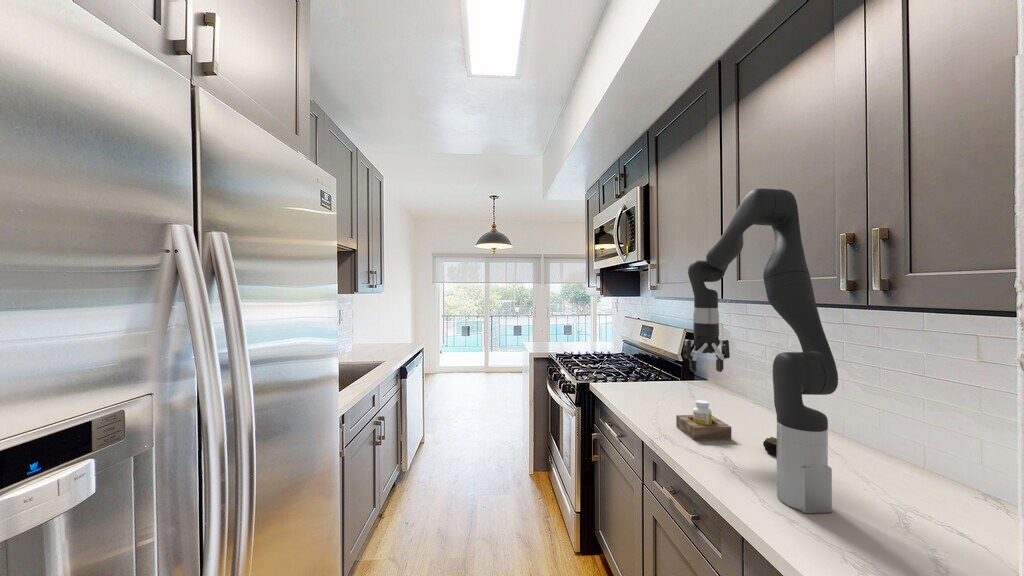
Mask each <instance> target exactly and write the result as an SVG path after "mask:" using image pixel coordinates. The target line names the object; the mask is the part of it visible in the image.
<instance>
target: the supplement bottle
mask: <svg viewBox="0 0 1024 576" xmlns="http://www.w3.org/2000/svg"><path fill="white" fill-rule="evenodd" d="M694 405H695V407H694V408H692V409H693V410H692V411H693V412H692V415H693V422H694V423H696V424H697V425H707V424H712V416H713V415H712V410H711V408H709V407H710V402H709V401H708V400H703V399H700V400H699V399H698V400H695V403H694ZM711 415H712V416H711Z"/></svg>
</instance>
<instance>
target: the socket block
mask: <svg viewBox="0 0 1024 576" xmlns="http://www.w3.org/2000/svg"><path fill="white" fill-rule="evenodd" d="M711 416H712V424H707V425H697V424H696V423H694V422H693V414H684V415H683V414H678V415H676V417H675V418H676V419H675V420H676V421H675V423H676V426H675V427H676V428H677V429H678V430H680V431H681V432H682V433H684V434H685V435H686V436H688V437H689V438H690V439H692V440H693V441H724V440H725V441H727V440H730V441H731V440H732V426H731V425H729V424H727V423H726V422H724V421H723V420H721V419H719V418H717V417H716V416H714V415H713V414H711Z"/></svg>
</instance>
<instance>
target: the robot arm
mask: <svg viewBox="0 0 1024 576" xmlns="http://www.w3.org/2000/svg"><path fill="white" fill-rule="evenodd" d="M754 225H756V226H766V227H767V226H769V227H770V226H771V227H772V230H773V235H774V236H773V237H774V248H773V251H771V252H772V253H771V254H770V257H769V258H768V261H767V262H766V264H765V267H764V269H763V274H762V276H763V277H762V278H763V284H764V289H765V293H766V297H767V301H768V303H769V304H770V306H771V307H772V309H774V311H775V312H776V313H777V314H778V315H779V316H780V317H781V318H782V319H783V320H784V321H785V322H786V323H787V324H788V325H789V327H790V328H792V330H793V332H794V333H795V335H796V336H797V340H798V341H799V344H800V347H801V351H799V352H798V351H797V352H796V351H793V352H792V351H787V352H786V351H785V352H780V353H778V354H777V355H775V358H774V360H773V362H772V384H773V402H774V408H775V413H776V414H775V415H776V438H777V455H776V497H777V499H778V500H779V501H780V502H782V503H783V504H785V505H787V506H788V507H790V508H793V509H796V510H799V511H800V512H802V513H804V514H815V513H816V514H820V513H822V514H823V513H826V514H827V513H832V512H833V479H832V478H833V475H832V474H833V469H832V467H831V466H829V462H828V461H829V448H828V447H829V435H828V434H829V420H828V417H827V415H826V414H825V413H823V412H821V411H819V410H817V409H814V408H811V407H809V406H806V405H804V401H803V395H806V396H807V395H815V396H817V395H818V396H819V395H820V396H821V395H822V396H824V395H825V396H828V395H831V394H832V395H833V393H834V392H836V390H837V389H838V385H839V374H838V369H837V368H838V367H837V364H836V361H835V358H834V356H833V355H834V354H833V352H832V350H831V348H830V344H829V341H828V339H827V336H826V332H825V331H824V328H823V325H822V321H821V318H820V313H819V310H818V306H817V302H816V298H815V292H814V291H815V290H814V286H813V282H812V278H811V275H810V270H809V266H808V264H807V261H806V256H805V255H806V254H805V251H804V245H803V242H802V241H803V240H802V233H801V225H800V217H799V207H798V203H797V199H796V196H795V195H794V193H792V191H790V190H787V189H780V188H778V189H777V188H765V187H763V188H761V187H760V188H754V189H752V190H750V191H749V192H748V193H747V194H746V195H745V196H744V197H743V199H742V201H741V202H740V204H739V205H738V207H737V208H736V211H735V212H734V214H733V215H732V217H731V219H730V221H729V223H728V225H727V226H726V228H725V230H724V232H723V233H722V235H721V236H720V238H719V239H718V240H717V241H716V242H715V243H714V244H713V246H711V248H710V249H709V250H708V251H707V253H706V256H705V258H706V259H705V260H703V259H702V260H693V261H692V262H691V263H690V264H689V266H688V268H687V269H688V270H687V274H688V278H689V282H690V286H691V289H692V293H693V303H694V304H693V305H694V306H693V320H692V321H693V339H692V340H691V339H687V338H686V339H684V341H683V352H682V353H683V354H682V355H683V356H682V357H683V358H685V359H688V361H689V363H688V364H689V365H688V366H689V370H690V372H693V373H697V359H698V358H699V356H701V355H702V354H713V355H714V357H715V358H716V359H715V370H716V372H718V373H722V372H723V370H724V360H726V359H729V358H730V357H731V354H730V342H729V340H728V339H726V338H725V339H724V338H722V339H719V337H720V313H719V294H718V291H716V290H715V289H712V288H711V289H710V288H708V287H707V285H706V283H716V282H719V281H720V280H722V279H723V278H724V276H725V275H726V274H725V273H727V272H726V271H727V270H728V268H729V265H730V264H731V263H732V262H733V261H734V260H735V259H736V258H737V257H738V256H739V255H740V253H741V252H742V250H743V248H744V233H745V232H746V231H747V229H750V227H751V226H754ZM693 346H694V348H692V347H693ZM719 346H720V348H721V349H719Z"/></svg>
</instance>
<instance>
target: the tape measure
mask: <svg viewBox="0 0 1024 576" xmlns="http://www.w3.org/2000/svg"><path fill="white" fill-rule="evenodd" d="M762 444H763V445H762V446H763V448H764V450H765V452H767V453H769V454H771V455H773V456H777V437H773V436H772V437H771V436H770V437H767V438H765V440H763V442H762Z"/></svg>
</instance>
